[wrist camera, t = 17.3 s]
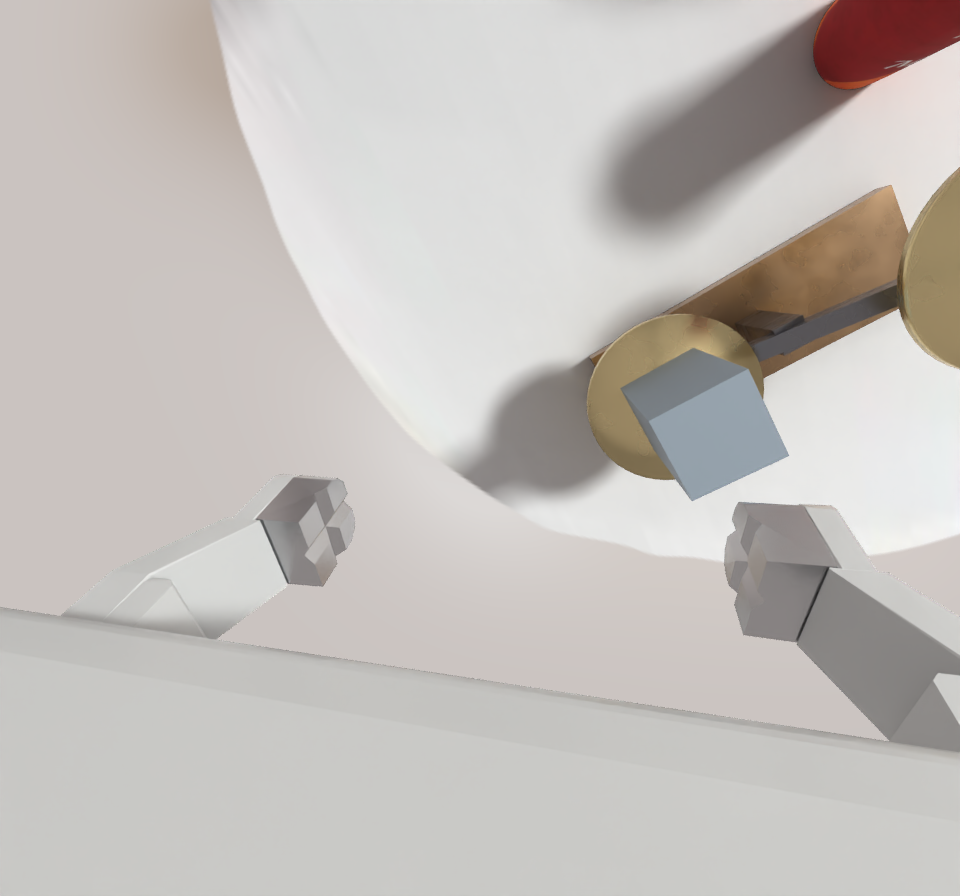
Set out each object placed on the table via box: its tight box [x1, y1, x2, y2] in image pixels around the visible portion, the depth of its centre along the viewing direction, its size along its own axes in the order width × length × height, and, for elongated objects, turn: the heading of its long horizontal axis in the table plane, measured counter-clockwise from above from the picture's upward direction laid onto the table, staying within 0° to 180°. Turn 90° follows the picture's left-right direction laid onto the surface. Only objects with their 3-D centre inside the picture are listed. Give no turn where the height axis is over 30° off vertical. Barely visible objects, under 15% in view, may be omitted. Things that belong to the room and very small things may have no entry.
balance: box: [587, 167, 960, 480], centre depth 30 cm, size 11×27×14 cm, turn 122°
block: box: [620, 348, 789, 501], centre depth 27 cm, size 5×5×8 cm
